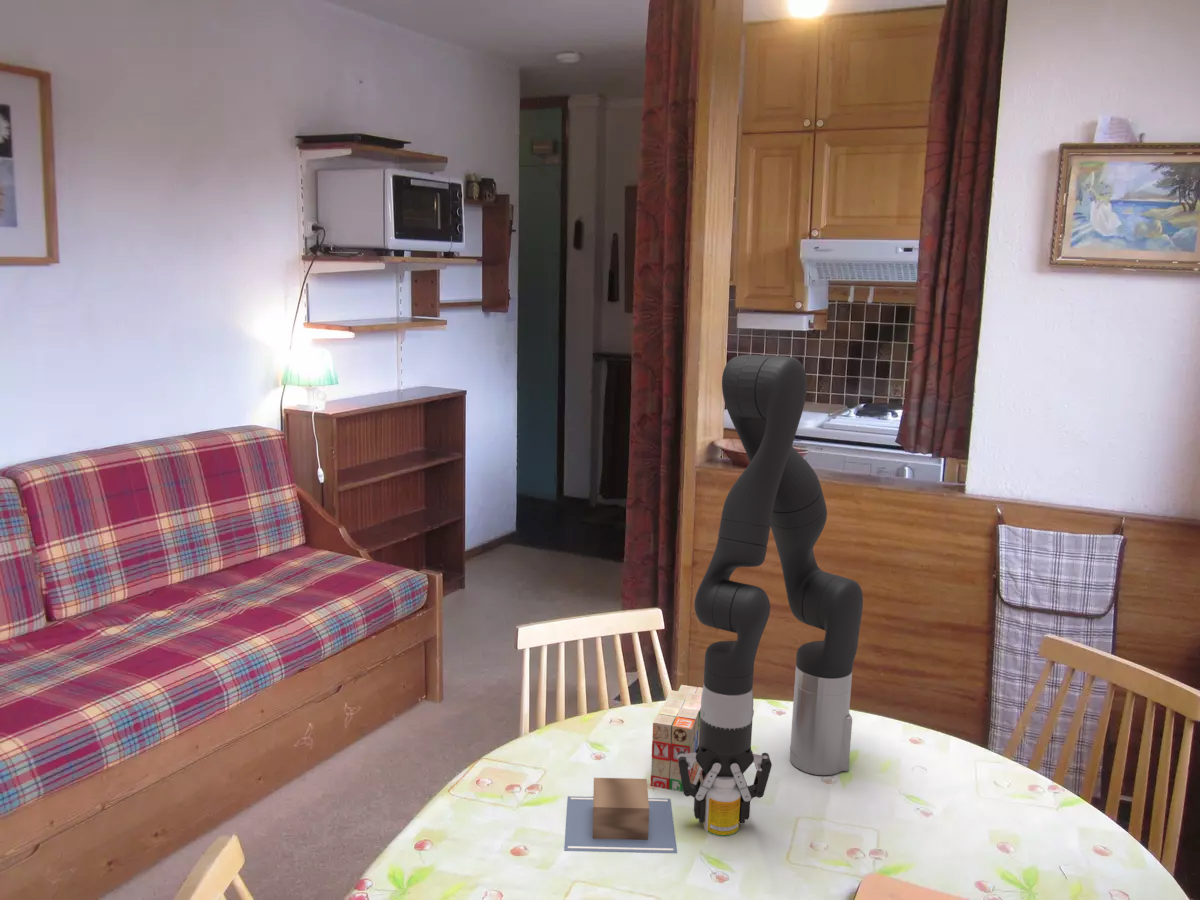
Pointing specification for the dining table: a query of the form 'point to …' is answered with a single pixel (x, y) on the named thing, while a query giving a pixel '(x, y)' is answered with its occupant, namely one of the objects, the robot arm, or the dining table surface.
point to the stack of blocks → (675, 736)
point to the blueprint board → (582, 839)
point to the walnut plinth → (620, 809)
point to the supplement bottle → (722, 807)
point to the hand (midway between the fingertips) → (721, 819)
